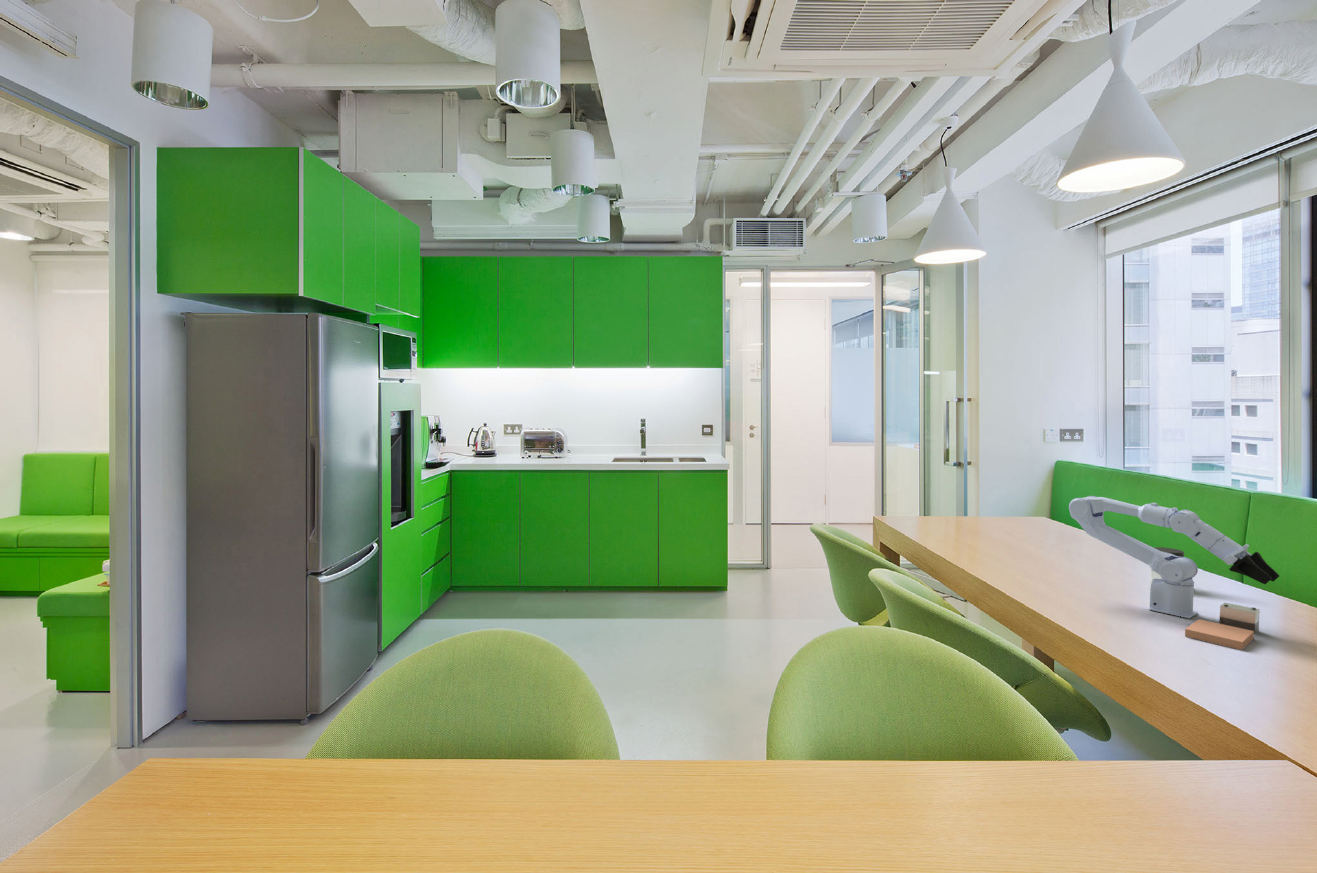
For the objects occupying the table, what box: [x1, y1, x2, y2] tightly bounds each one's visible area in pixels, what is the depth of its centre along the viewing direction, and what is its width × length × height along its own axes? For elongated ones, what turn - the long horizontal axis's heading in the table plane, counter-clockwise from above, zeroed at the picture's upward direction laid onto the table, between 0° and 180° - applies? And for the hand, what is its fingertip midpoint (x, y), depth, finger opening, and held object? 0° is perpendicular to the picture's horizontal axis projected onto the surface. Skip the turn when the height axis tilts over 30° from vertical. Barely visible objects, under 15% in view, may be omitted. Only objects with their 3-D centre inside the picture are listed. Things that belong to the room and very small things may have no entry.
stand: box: [1184, 618, 1255, 651], centre depth 160 cm, size 11×12×2 cm
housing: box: [1218, 602, 1261, 636], centre depth 166 cm, size 7×4×6 cm, turn 36°
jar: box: [1149, 546, 1185, 585], centre depth 204 cm, size 9×8×12 cm
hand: (1272, 580), depth 161 cm, fingers open, 7 cm apart
